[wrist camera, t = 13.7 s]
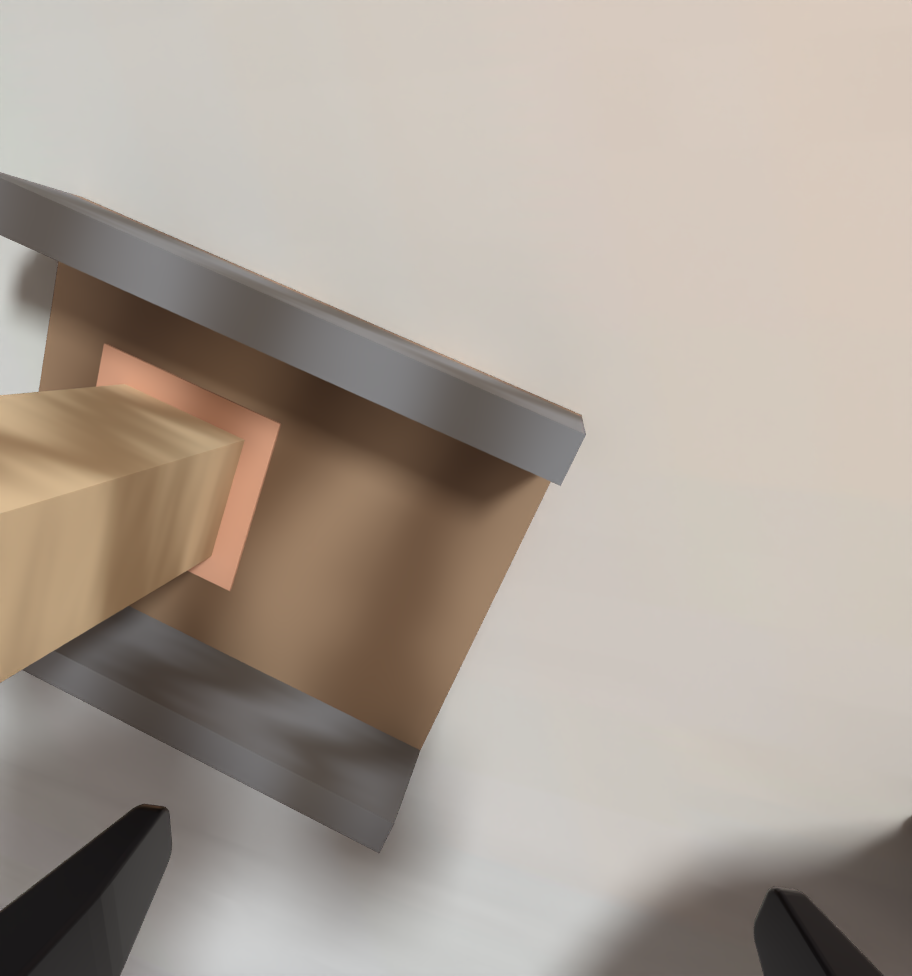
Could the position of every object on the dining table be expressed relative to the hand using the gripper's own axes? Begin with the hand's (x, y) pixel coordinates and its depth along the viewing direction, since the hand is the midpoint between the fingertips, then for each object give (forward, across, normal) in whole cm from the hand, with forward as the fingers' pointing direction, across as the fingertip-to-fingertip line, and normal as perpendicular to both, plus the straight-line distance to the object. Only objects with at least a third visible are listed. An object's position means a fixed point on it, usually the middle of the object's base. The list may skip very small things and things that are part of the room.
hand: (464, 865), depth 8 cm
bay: (+13, +8, +1) cm, 16 cm away
